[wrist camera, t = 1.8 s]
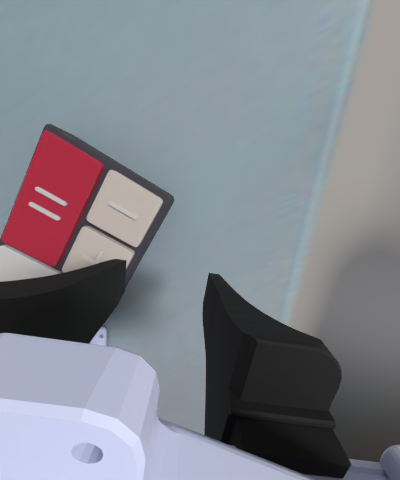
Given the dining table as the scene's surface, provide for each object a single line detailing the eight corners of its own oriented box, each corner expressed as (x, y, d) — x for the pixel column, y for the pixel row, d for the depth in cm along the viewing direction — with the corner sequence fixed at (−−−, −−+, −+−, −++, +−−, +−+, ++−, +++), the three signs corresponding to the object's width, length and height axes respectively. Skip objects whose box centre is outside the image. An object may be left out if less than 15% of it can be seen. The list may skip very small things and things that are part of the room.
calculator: (171, 198, 15) (93, 338, 18) (177, 197, 19) (112, 311, 22) (37, 116, 13) (-27, 283, 16) (74, 135, 18) (19, 265, 20)
